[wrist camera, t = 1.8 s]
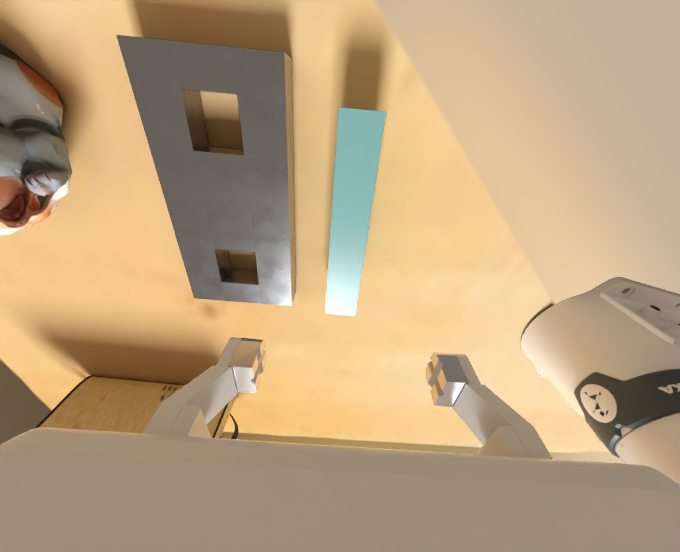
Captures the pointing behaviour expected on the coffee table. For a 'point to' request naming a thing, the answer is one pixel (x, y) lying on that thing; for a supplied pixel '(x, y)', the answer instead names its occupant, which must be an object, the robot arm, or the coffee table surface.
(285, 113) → the hole plate
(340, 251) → the peg strip
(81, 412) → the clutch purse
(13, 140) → the lucky cat figurine
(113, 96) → the coffee table surface
